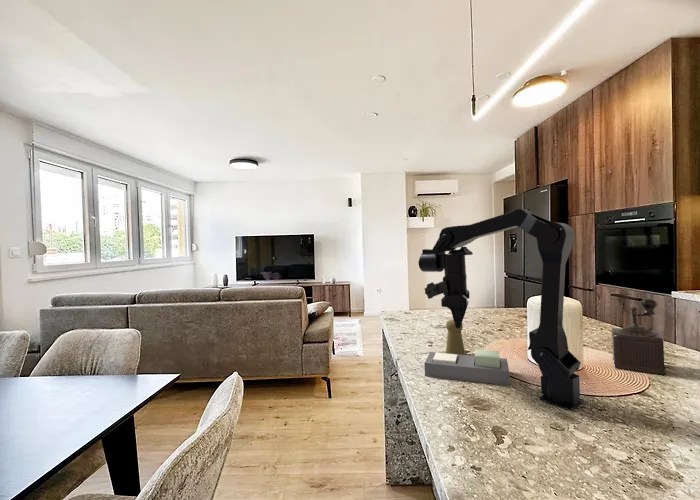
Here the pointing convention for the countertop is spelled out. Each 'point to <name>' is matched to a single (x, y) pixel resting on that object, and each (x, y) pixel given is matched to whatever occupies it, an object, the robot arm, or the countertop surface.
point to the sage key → (487, 358)
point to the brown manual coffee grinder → (639, 344)
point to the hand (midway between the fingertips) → (458, 328)
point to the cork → (454, 339)
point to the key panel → (467, 370)
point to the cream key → (445, 358)
